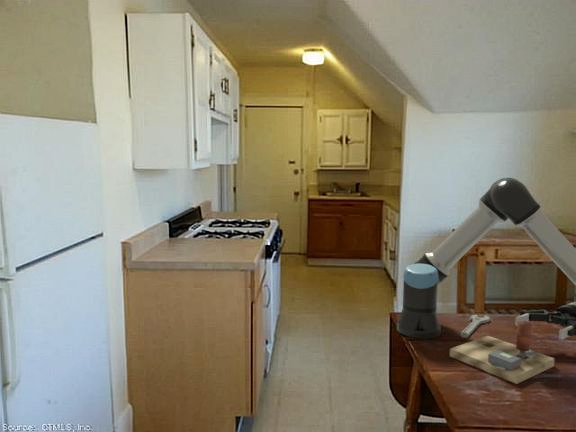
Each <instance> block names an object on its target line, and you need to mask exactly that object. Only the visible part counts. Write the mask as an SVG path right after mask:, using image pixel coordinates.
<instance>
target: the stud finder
mask: <svg viewBox="0 0 576 432" xmlns="http://www.w3.org/2000/svg"><path fill="white" fill-rule="evenodd" d="M488 362H490V363H492V364H495V365H497V366H500V367H503V368H505V369H508V370H510V371H511V370H513V369H516V368H518V367H520V366H521V358H519V357H516V356H513V355H510V354H508V353H505V352H502V351H499V350H498V351H495V352H492V353H490V354H489V355H488Z"/></svg>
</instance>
